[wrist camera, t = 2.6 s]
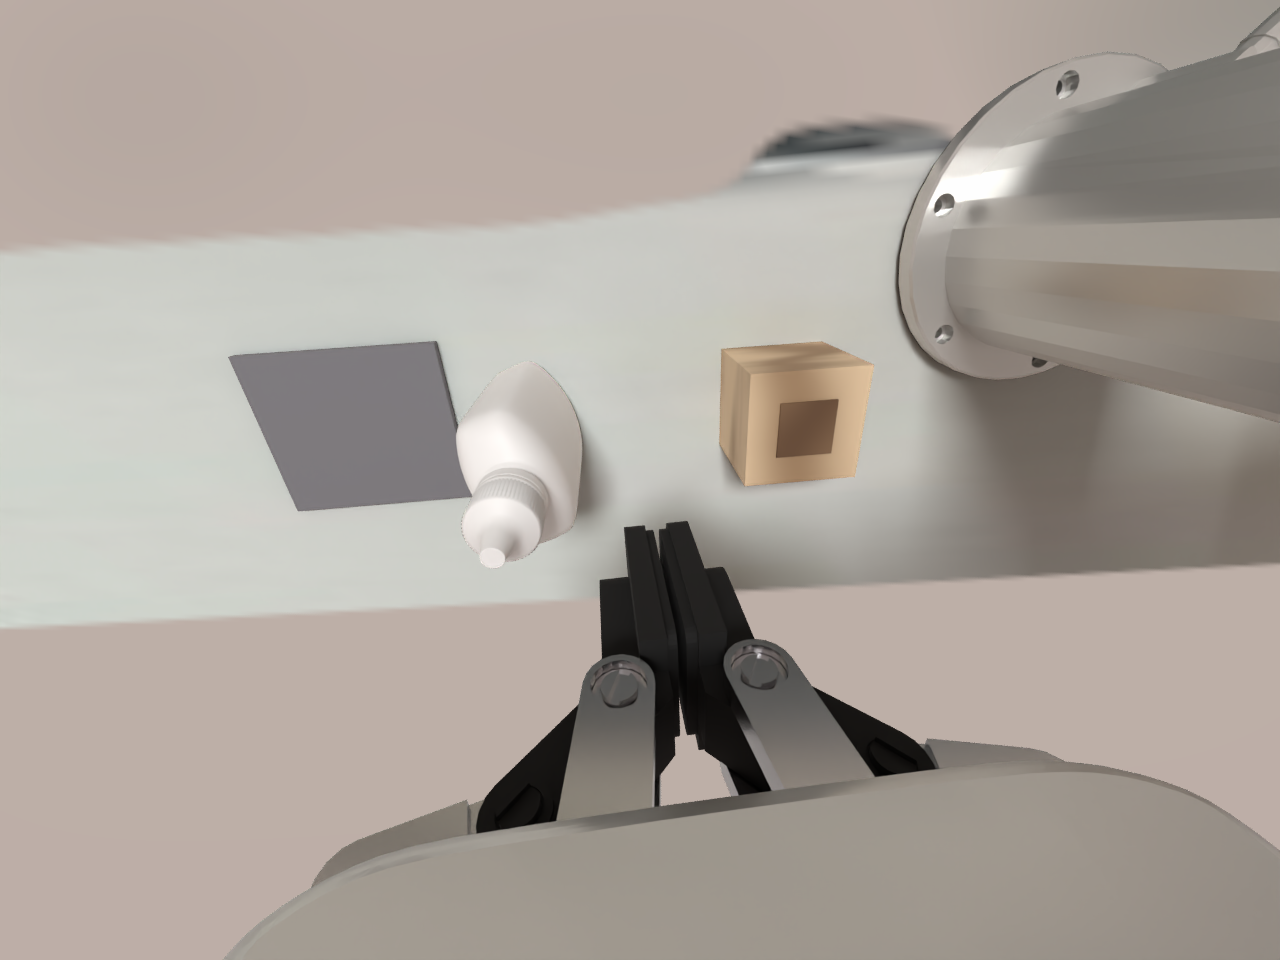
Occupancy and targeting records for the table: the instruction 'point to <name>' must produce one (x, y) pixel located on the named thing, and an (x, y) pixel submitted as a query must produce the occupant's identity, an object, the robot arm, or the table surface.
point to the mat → (356, 423)
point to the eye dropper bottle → (519, 464)
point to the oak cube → (792, 411)
